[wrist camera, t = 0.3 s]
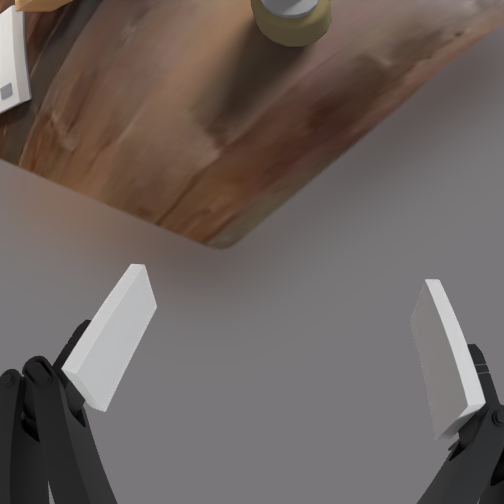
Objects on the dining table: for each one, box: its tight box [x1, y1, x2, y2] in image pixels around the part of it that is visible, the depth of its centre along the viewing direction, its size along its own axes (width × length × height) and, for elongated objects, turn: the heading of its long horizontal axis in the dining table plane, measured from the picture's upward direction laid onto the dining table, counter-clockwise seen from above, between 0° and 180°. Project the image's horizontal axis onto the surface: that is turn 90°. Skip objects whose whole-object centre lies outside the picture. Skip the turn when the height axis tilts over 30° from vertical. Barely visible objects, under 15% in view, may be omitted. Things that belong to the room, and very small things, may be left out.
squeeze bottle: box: [251, 0, 332, 47], centre depth 21 cm, size 8×8×18 cm
